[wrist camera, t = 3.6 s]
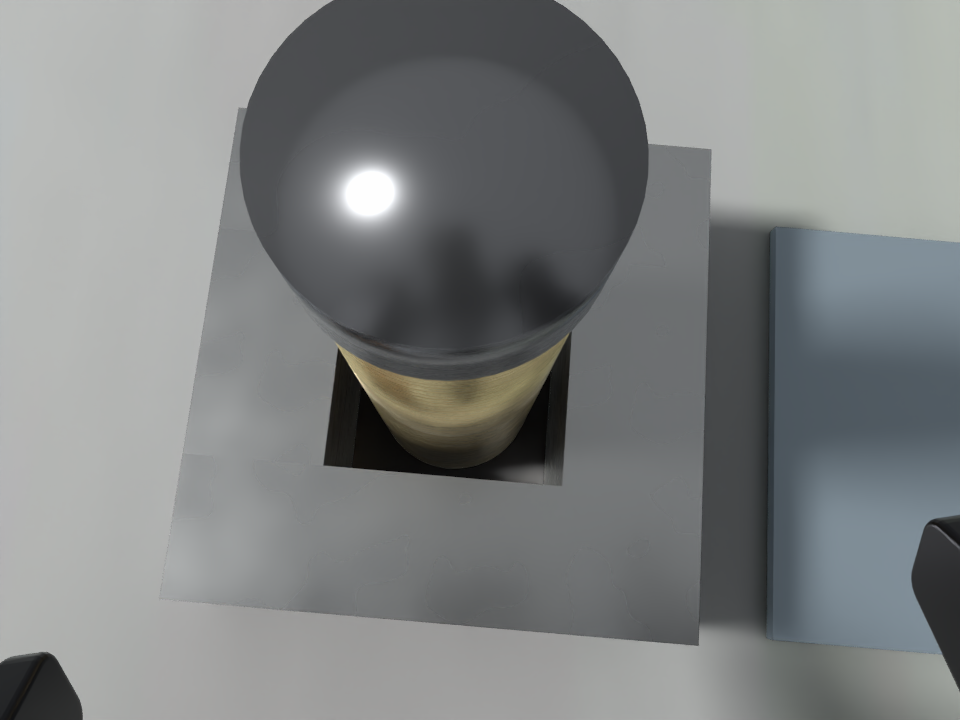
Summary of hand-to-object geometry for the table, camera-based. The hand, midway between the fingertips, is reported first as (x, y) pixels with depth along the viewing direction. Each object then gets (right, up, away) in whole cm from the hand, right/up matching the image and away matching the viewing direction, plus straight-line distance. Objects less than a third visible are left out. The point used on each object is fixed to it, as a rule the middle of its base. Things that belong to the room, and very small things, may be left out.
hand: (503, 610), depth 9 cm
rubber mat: (+12, +1, +12) cm, 17 cm away
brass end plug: (-1, +2, +12) cm, 12 cm away
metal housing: (-1, +2, +12) cm, 12 cm away
